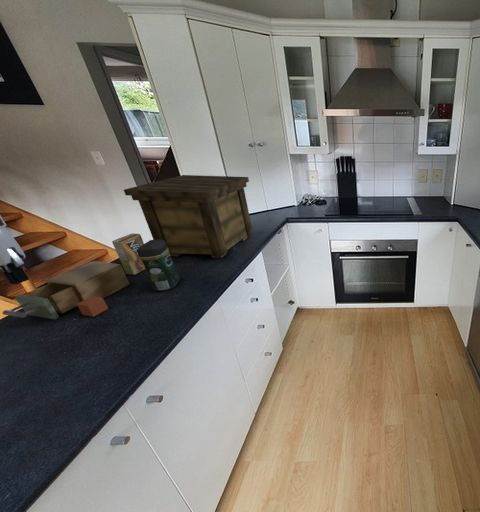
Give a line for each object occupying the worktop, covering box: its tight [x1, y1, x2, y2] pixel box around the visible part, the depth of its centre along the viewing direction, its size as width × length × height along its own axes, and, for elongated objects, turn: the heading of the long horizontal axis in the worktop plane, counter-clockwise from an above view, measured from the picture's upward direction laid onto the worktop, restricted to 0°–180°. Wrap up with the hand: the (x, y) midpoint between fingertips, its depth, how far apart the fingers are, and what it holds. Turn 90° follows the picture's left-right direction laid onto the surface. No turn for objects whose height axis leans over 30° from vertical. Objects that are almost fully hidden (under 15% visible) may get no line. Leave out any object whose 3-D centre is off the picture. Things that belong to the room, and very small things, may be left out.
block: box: [76, 296, 109, 318], centre depth 91 cm, size 4×4×4 cm
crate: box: [123, 174, 254, 259], centre depth 134 cm, size 35×35×33 cm
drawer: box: [2, 283, 83, 320], centre depth 90 cm, size 18×11×7 cm, turn 170°
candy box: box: [111, 232, 146, 276], centre depth 115 cm, size 9×4×15 cm, turn 175°
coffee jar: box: [137, 239, 181, 292], centre depth 104 cm, size 10×8×19 cm
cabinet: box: [45, 260, 131, 301], centre depth 100 cm, size 15×13×9 cm
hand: (20, 281), depth 81 cm, fingers closed
